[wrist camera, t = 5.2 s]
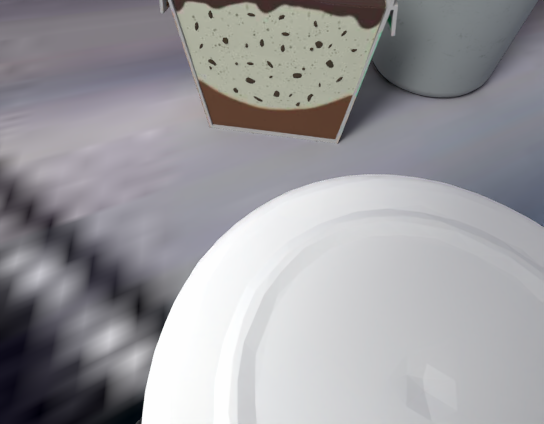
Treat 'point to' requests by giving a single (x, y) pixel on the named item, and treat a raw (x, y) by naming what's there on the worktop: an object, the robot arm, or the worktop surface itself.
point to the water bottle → (448, 43)
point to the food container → (280, 61)
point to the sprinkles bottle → (360, 313)
